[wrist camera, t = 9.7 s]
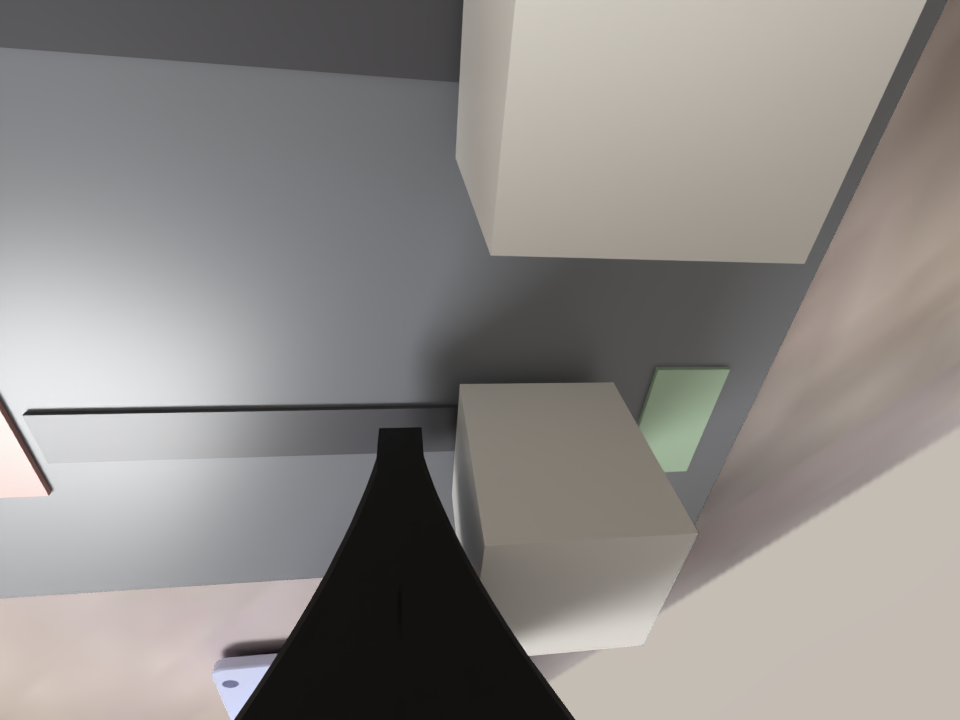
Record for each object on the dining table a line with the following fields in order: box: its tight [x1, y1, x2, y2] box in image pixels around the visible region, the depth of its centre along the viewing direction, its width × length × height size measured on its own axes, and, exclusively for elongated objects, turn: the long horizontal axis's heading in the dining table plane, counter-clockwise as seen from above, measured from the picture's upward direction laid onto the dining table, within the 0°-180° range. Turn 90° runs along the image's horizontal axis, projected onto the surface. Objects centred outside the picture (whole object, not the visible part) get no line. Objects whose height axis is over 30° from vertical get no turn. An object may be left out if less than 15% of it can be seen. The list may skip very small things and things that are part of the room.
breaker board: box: [0, 0, 947, 598], centre depth 9 cm, size 16×18×2 cm
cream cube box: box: [455, 0, 927, 264], centre depth 5 cm, size 3×3×4 cm
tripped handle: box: [452, 382, 699, 656], centre depth 9 cm, size 3×3×4 cm
